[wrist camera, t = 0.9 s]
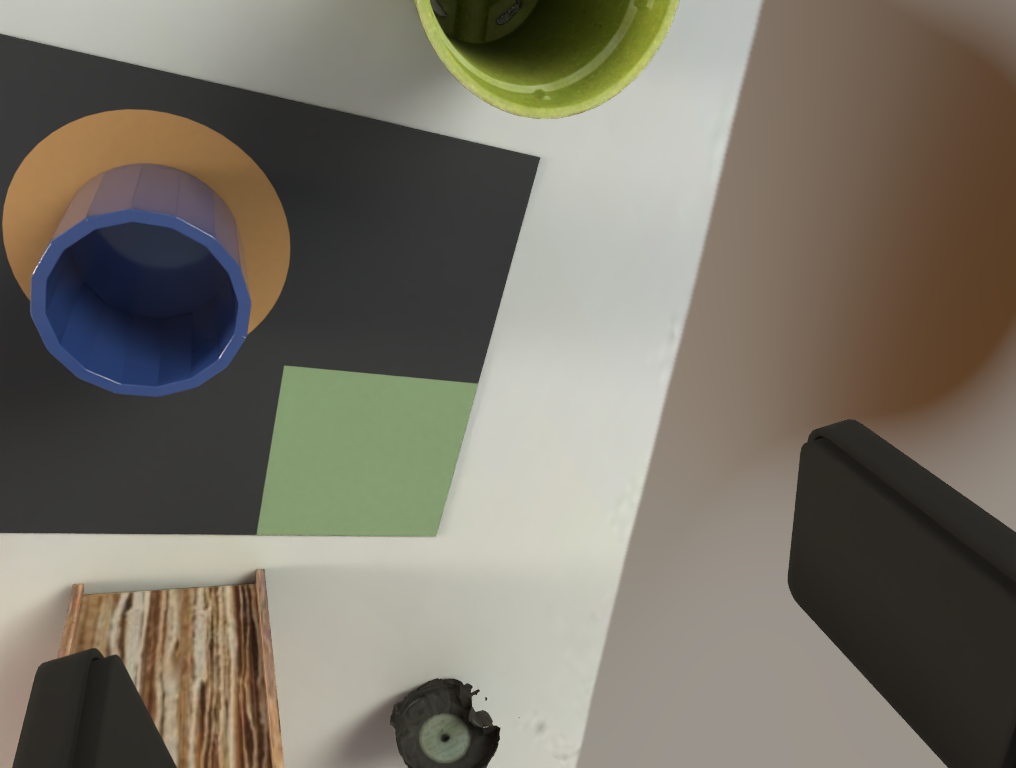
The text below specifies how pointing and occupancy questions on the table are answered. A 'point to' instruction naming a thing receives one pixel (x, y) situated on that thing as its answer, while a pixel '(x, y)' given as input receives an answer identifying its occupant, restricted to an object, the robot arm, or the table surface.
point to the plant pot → (547, 49)
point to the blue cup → (143, 283)
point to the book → (192, 666)
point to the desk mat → (256, 310)
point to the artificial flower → (444, 727)
